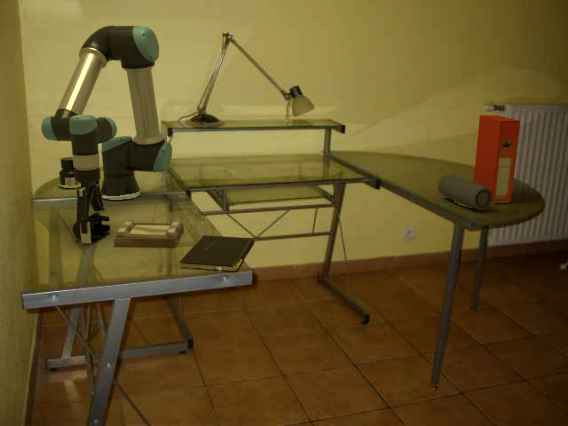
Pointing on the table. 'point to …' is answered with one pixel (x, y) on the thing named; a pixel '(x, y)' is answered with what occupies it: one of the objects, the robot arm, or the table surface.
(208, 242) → the hardcover book
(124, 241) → the display riser
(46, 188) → the table surface
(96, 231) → the black notched block
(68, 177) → the ink bottle
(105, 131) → the robot arm
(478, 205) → the bluetooth speaker
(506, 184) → the file binder
